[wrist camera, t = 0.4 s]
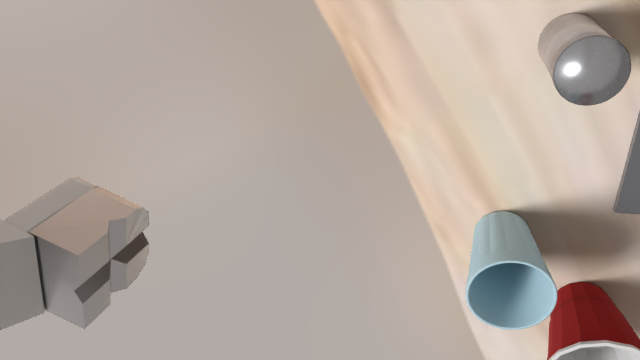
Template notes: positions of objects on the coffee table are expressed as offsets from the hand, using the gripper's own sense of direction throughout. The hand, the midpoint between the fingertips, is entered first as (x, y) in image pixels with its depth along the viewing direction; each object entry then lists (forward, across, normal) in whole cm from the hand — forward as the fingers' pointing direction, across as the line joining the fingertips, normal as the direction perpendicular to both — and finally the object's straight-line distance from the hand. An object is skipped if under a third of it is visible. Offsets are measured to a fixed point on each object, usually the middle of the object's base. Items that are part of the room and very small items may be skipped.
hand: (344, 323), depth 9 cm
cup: (+44, -8, +26) cm, 52 cm away
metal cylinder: (+45, -6, +6) cm, 46 cm away
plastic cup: (+45, -19, +32) cm, 58 cm away
